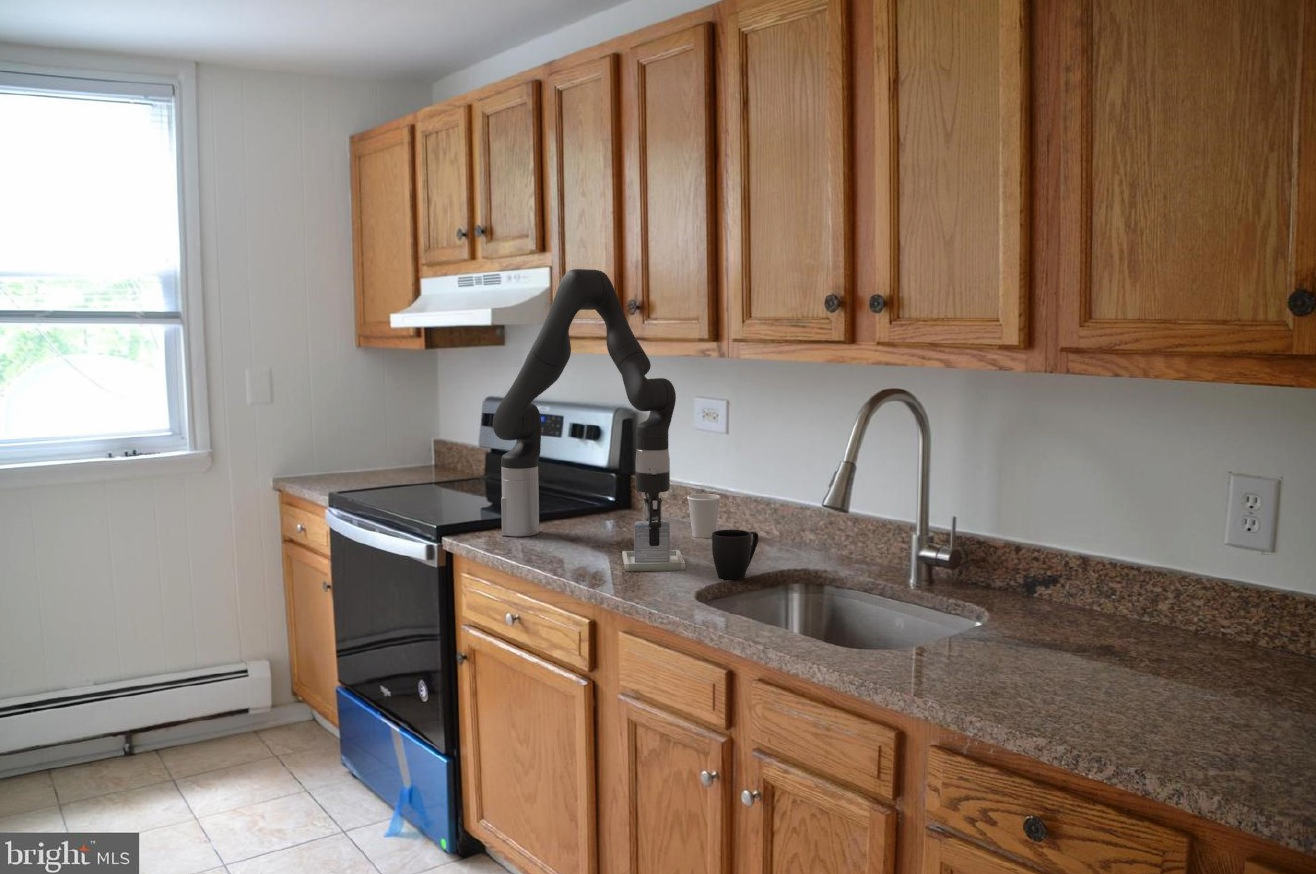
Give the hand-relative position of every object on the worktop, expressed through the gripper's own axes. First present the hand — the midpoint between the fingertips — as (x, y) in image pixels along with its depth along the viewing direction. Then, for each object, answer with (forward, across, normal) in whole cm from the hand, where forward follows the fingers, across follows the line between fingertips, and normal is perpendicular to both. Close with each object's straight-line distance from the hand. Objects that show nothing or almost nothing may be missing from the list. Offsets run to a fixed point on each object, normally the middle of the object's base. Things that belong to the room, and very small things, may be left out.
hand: (652, 541), depth 235 cm
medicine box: (+5, 0, 0) cm, 5 cm away
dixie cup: (+5, -30, +15) cm, 34 cm away
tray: (+5, 0, 0) cm, 5 cm away
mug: (+5, +13, +17) cm, 22 cm away
